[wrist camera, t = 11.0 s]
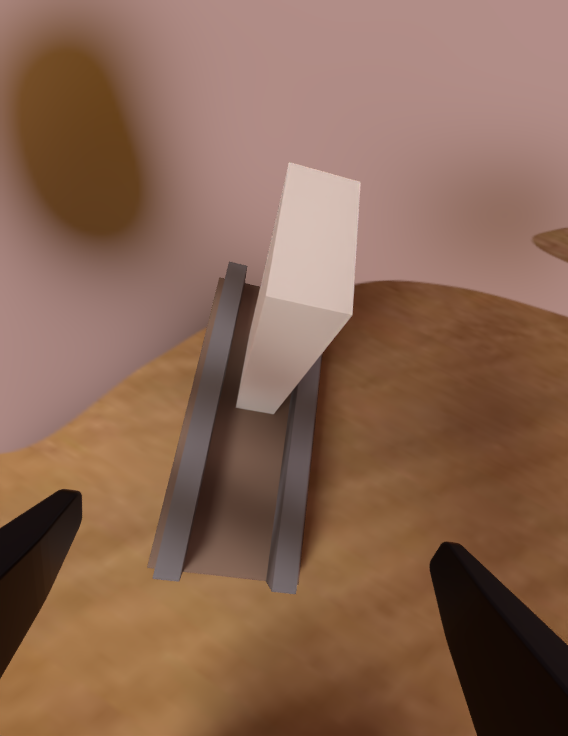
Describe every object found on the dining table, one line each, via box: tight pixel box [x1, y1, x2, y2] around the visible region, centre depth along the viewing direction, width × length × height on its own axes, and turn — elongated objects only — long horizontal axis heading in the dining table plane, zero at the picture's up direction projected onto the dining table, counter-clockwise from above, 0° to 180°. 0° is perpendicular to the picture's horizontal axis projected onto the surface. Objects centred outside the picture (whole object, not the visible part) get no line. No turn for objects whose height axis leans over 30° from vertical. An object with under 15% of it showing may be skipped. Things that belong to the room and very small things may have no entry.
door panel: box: [236, 162, 360, 414], centre depth 16 cm, size 5×2×13 cm, turn 173°
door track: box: [147, 262, 322, 594], centre depth 21 cm, size 18×8×4 cm, turn 172°
